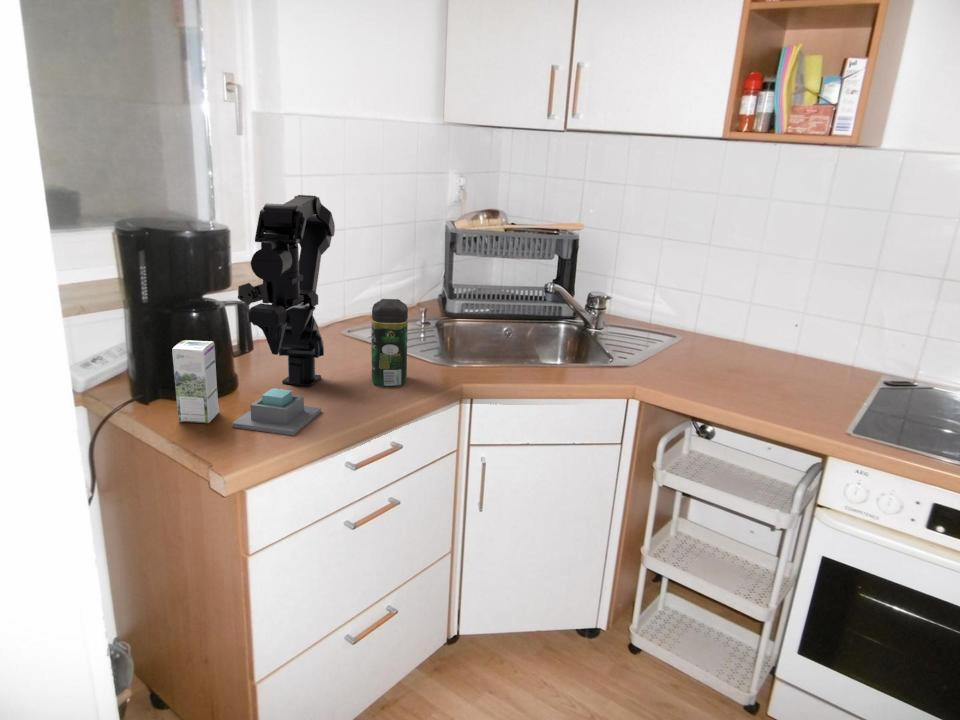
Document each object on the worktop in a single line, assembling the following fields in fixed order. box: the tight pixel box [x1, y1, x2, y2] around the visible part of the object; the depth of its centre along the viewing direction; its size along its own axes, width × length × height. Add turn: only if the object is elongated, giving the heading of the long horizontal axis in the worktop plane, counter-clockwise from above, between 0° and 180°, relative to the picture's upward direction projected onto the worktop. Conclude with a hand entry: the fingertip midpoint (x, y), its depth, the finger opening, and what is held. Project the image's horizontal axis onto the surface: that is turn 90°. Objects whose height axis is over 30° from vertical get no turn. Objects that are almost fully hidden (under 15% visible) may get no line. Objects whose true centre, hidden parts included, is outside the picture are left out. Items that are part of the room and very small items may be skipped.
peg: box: [261, 387, 293, 408], centre depth 127 cm, size 4×4×4 cm
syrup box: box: [171, 339, 220, 424], centre depth 125 cm, size 6×6×14 cm
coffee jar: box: [370, 298, 409, 389], centre depth 149 cm, size 10×8×19 cm
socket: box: [231, 394, 322, 437], centre depth 128 cm, size 12×12×4 cm
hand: (286, 347), depth 135 cm, fingers open, 9 cm apart
